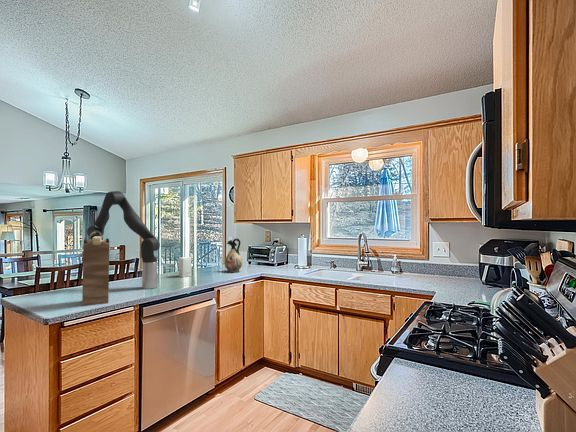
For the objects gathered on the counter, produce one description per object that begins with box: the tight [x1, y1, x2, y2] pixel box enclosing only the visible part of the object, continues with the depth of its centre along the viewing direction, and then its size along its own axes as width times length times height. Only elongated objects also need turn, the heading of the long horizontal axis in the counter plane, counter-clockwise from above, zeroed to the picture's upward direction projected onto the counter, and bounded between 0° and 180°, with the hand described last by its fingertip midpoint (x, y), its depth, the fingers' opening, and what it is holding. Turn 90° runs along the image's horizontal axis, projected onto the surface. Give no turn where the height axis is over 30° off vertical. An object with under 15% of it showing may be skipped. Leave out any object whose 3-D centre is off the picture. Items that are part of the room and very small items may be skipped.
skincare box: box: [178, 256, 192, 278], centre depth 263 cm, size 8×7×16 cm
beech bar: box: [92, 236, 103, 245], centre depth 182 cm, size 26×4×4 cm, turn 29°
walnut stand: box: [81, 239, 110, 306], centre depth 179 cm, size 12×12×34 cm
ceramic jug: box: [224, 238, 243, 273], centre depth 289 cm, size 17×15×30 cm
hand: (97, 244), depth 205 cm, fingers open, 8 cm apart
